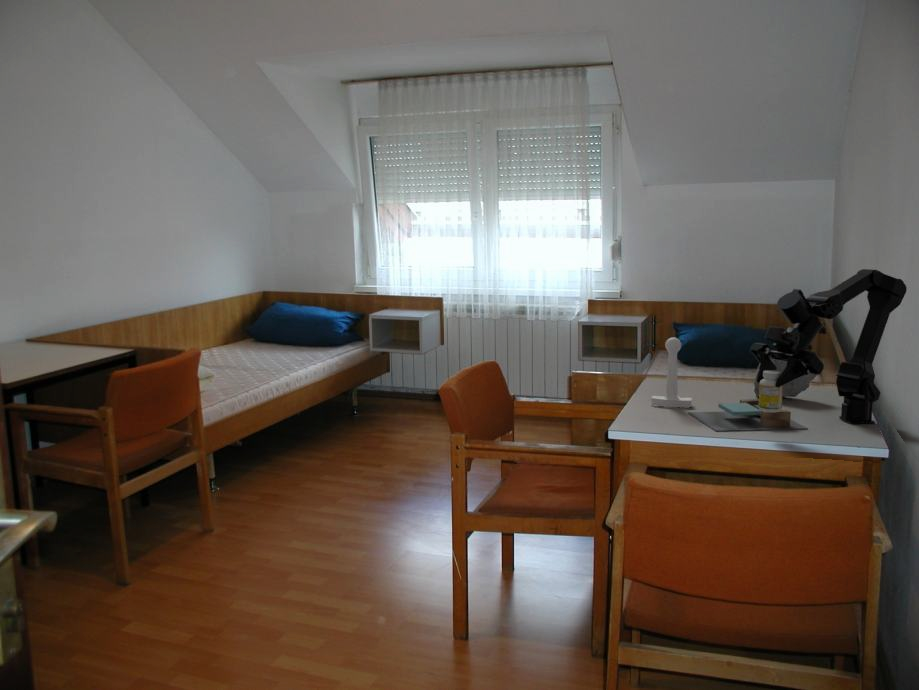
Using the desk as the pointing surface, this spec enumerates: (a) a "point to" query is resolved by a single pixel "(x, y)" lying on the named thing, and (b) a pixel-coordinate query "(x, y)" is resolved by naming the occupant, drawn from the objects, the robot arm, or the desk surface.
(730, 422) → the dark grey flat mat
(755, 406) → the trapdoor
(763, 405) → the supplement bottle
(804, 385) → the fossil
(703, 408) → the desk surface
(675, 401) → the joystick
